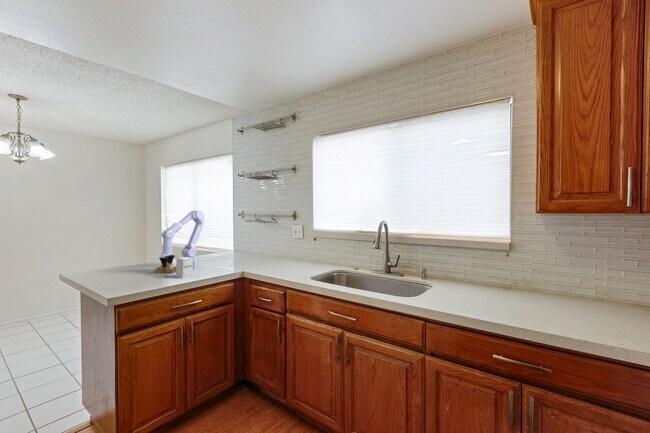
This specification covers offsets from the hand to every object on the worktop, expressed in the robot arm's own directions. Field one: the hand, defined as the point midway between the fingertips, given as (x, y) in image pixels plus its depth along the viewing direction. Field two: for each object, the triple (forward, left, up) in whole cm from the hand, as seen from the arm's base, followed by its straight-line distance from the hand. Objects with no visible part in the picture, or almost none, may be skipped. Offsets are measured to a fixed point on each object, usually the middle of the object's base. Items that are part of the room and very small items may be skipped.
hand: (167, 266), depth 211 cm
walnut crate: (0, 0, -4) cm, 4 cm away
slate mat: (+2, +4, -4) cm, 6 cm away
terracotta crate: (0, 0, -3) cm, 3 cm away
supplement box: (-17, +13, -4) cm, 22 cm away
